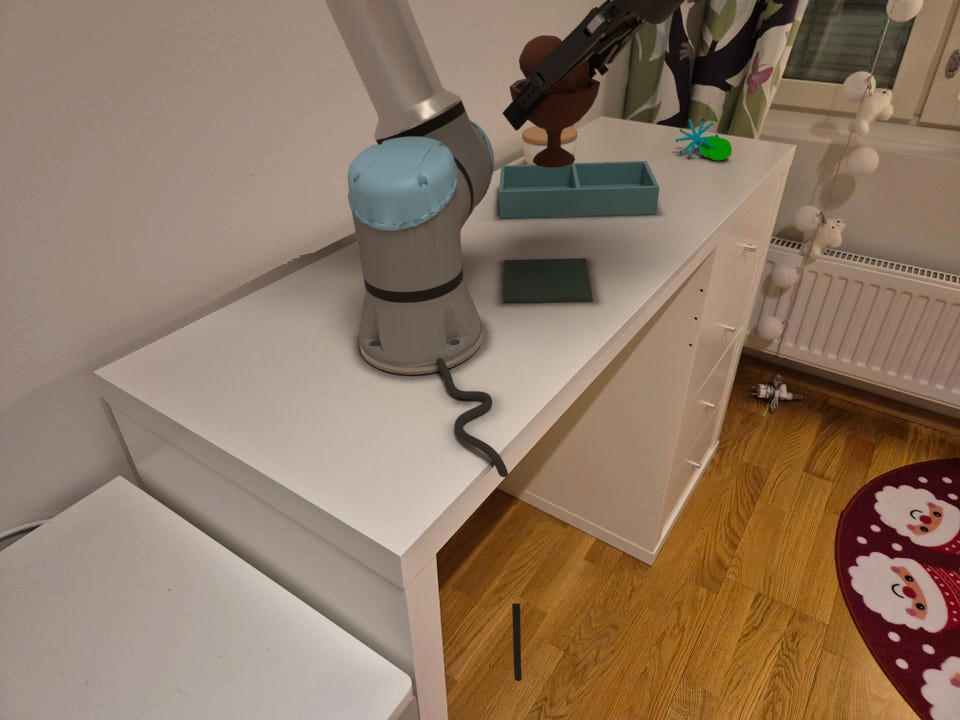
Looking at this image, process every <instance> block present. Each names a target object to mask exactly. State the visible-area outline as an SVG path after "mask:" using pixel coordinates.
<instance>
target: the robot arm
mask: <svg viewBox="0 0 960 720" xmlns="http://www.w3.org/2000/svg"><path fill="white" fill-rule="evenodd" d="M685 1H686V0H605V1H604V2H603V3H602V4H601V5H599V7H598V6H595V7H592V8H591V9H590V10H589V12H588V14H586V16H585V17H584V18H583V19H582V20H581V21H580V23H579V24H578V25H576V27H575V28H573V30H572V31H571V32H570V33H569V34H568V35H567V36H566V37H565V38H564V39H563V40H561V41H562V42H561V43H560V44H559V45H558V46H557V47H556V48H555V49H554V50H553V51H552V52H551V53H550V54H549V55H548V56H547V57H546V58H545V59H544V60H543V61H542V62H541V63H540V64H539V65H538V66H537V67H536V68H535V69H533V68H531V69H530V70H529V74H528V77H529V79H530V80H531V81H530V82H529V83H528V84H527V85H526V86H525V87H524V89H523V90H522V91H521V92H520V93H519V94H518V96H517V97H516V98H515V99H514V100H512V101H511V102H510V103H509V105H508V106H507V107H506V108H505V109H504V110H503V112H502V115H503V117H504V118H505V119H506V120H507V122H508V123H509V125H510V126H511V127H512V128H513V129H514V131H515V132H517V131H519V130H520V129H521V128H522V127H523V126H525V123H527V121H529V120H528V119H529V118H530V117H531V116H532V115H533V114H534V113H535V112H536V111H537V109H538V108H539V107H540V106H541V105H542V104H543V103H544V102H545V101H546V100H547V99H548V98H549V96H550V95H551V94H552V92H551V91H552V90H553V89H554V88H555V87H556V86H557V85H558V84H560V83H561V82H562V81H563V80H564V79H565V78H566V77H568V76H569V75H570V74H571V73H572V72H573V71H574V70H576V69H577V68H578V67H579V66H580V65H581V64H582V63H584V62H585V61H587V62H588V63H589V77H590V78H592V79H594V77H595V76H596V75H597V74H598V73H599V74H600V76H601V77H603V76H604V75H605V74H607V73H608V72H609V71H610V69H609V68H608V66H607V65H610V64H612V63H613V62H615V60H616V58H617V57H618V56H619V55H620V53H621V52H622V51H623V50H624V49H625V48H626V46H627V45H628V44H629V43H630V42H631V41H632V40H633V38H634V37H635V36H636V34H637V33H639V31H640V30H641V29H642V28H643V26H644V25H645V24H646V23H649V24H651V25H661V24H663V23H665V22H666V21H667V19H669V18H670V17H671V16H672V14H674V12H676V11H677V10H678V9H679V7H680V6H682V5H683V3H684V2H685ZM324 2H325V5H326V6H327V9H328V11H329V13H330V15H331V17H332V19H333V22H334V23H335V24H334V25H335V26H336V28H337V31H338V32H339V34H340V37H341V39H342V41H343V43H344V45H345V47H346V49H347V52H348V54H349V56H350V59H351V60H352V62H353V64H354V65H353V66H354V67H355V69H356V71H357V74H358V75H359V78H360V80H361V81H362V84H363V86H364V89H365V90H366V93H367V95H368V97H369V99H370V101H371V103H372V105H373V108H374V110H375V112H376V114H377V119H378V121H377V124H376V127H375V130H374V134H373V137H374V139H375V142H376V143H377V144H376V143H375V144H372V145H370V146H368V147H366V148H365V149H363V150H362V151H361V152H359V153H358V154H357V155H356V156H355V157H354V158H353V160H352V161H351V163H350V165H349V167H348V169H347V185H348V187H347V188H348V193H347V199H348V204H349V209H350V211H351V216H352V220H353V226H354V231H355V232H354V233H355V237H356V243H357V250H358V254H359V260H360V265H361V271H362V276H363V277H362V278H363V284H364V290H365V293H364V297H363V304H362V309H361V315H360V321H359V325H358V333H357V334H358V335H357V336H358V337H357V338H358V343H359V350H360V353H361V355H362V357H363V358H364V360H365V361H366V362H368V363H369V364H370V365H371V366H373V367H375V368H377V369H379V370H382V371H385V372H388V373H393V374H398V375H410V376H411V375H413V376H414V375H426V374H427V375H428V374H433V373H438V372H440V373H441V376H442V378H443V379H444V383H445V387H446V389H447V391H448V392H449V394H451V395H452V396H453V397H455V398H458V399H462V400H480V401H481V400H482V401H483V402H482V403H481V404H479V405H477V406H475V407H472V408H470V409H468V410H466V411H464V412H463V413H461V414H460V415H458V416H457V418H456V419H455V421H454V432H455V435H456V436H457V437H458V438H459V439H460V440H461V441H462V442H464V443H466V444H468V445H470V446H471V447H474V448H476V449H478V450H479V451H481V452H483V453H484V454H485V455H486V457H488V458H489V459H490V460H491V461H492V463H493V465H494V467H495V469H496V471H497V473H498V475H499V476H500V477H501V478H507V477H508V476H509V471H508V469H507V466H506V465H505V462H504V460H503V459H502V457H501V455H500V453H498V452H497V450H495V448H493V447H492V446H491V445H490V444H489V443H486V442H485V441H483V440H481V439H480V438H478V437H475V436H473V435H471V434H469V433H468V432H467V431H465V429H464V424H465V423H466V422H469V420H471V419H473V418H475V417H477V416H479V415H482V414H483V413H486V412H487V411H488V410H489V409H490V408H491V407H492V405H493V399H492V396H491V395H490V394H489V393H487V392H485V391H479V390H477V391H476V390H473V391H472V390H469V391H468V390H461V389H458V388H457V387H456V385H455V383H454V380H453V377H452V373H451V371H450V370H449V369H451V368H453V367H456V366H458V365H460V364H462V363H464V362H465V361H467V360H468V359H469V358H471V357H473V355H474V354H475V353H476V352H477V351H478V349H479V347H480V346H481V344H482V343H483V342H482V341H483V326H482V325H483V324H482V320H481V317H480V314H479V312H478V309H477V307H476V305H475V302H474V300H473V298H472V296H471V294H470V291H469V290H468V287H467V284H466V283H465V279H464V269H463V266H464V265H463V253H462V251H463V250H462V239H461V238H462V237H461V233H462V232H461V231H462V229H463V227H464V225H466V222H467V221H468V219H469V218H470V216H471V215H472V213H473V211H474V210H475V209H476V207H477V206H478V205H479V204H480V203H481V202H482V201H483V199H484V198H485V196H486V195H487V193H488V190H489V187H490V185H491V183H492V178H493V174H494V171H495V155H494V150H493V146H492V143H491V141H490V139H489V137H488V135H487V134H486V132H485V130H483V128H482V127H481V126H480V125H479V124H478V123H477V122H476V121H474V120H473V121H472V120H471V119H470V117H469V114H468V113H467V110H466V108H465V105H464V102H463V100H462V98H461V96H460V95H458V94H456V93H454V92H451V91H449V90H447V89H446V88H445V87H443V84H442V82H441V79H440V78H439V74H438V72H437V69H436V67H435V65H434V62H433V60H432V58H431V54H430V53H429V50H428V47H427V45H426V42H425V40H424V38H423V36H422V33H421V31H420V30H421V29H420V28H419V25H418V23H417V20H416V18H415V15H414V13H413V11H412V8H411V6H410V4H409V1H408V0H324ZM597 72H598V73H597ZM511 607H512V608H511V609H512V613H511V615H512V652H513V654H512V655H513V677H514V680H515V681H516V682H520V681H522V677H523V676H522V675H523V674H522V644H521V643H522V642H521V641H522V639H521V636H522V635H521V631H522V630H521V627H522V626H521V603H511Z"/></svg>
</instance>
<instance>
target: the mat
mask: <svg viewBox="0 0 960 720" xmlns="http://www.w3.org/2000/svg"><path fill="white" fill-rule="evenodd" d="M503 274H504V275H503V292H502V294H503V295H502V296H503V297H502V303H503V304H522V303H523V304H525V303H528V304H529V303H578V302H579V303H581V302H582V303H583V302H584V303H586V302H589V303H590V302H593V301H594V297H593V292H592V285H591V280H590V275H589V274H590V273H589V268H588V263H587V258H586V257H577V258H576V257H575V258H574V257H573V258H540V259H539V258H535V259H534V258H533V259H531V258H530V259H529V258H527V259H504V272H503Z"/></svg>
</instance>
